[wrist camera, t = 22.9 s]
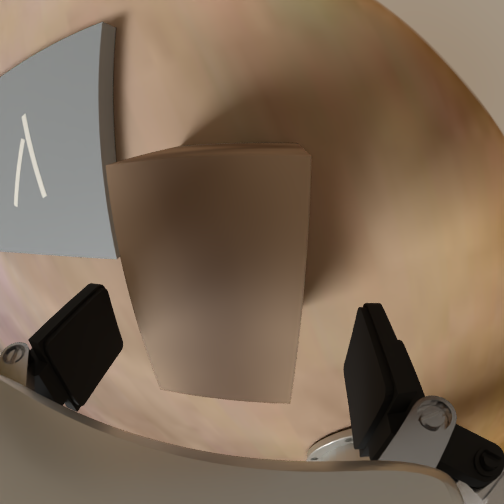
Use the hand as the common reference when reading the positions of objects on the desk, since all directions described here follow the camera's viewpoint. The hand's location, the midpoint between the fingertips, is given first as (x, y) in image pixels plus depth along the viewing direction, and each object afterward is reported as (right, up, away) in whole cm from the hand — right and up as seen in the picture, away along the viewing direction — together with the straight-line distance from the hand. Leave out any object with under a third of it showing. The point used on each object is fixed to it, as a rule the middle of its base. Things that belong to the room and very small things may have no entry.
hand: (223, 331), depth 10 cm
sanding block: (0, +4, +6) cm, 7 cm away
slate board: (-19, +10, +5) cm, 22 cm away
